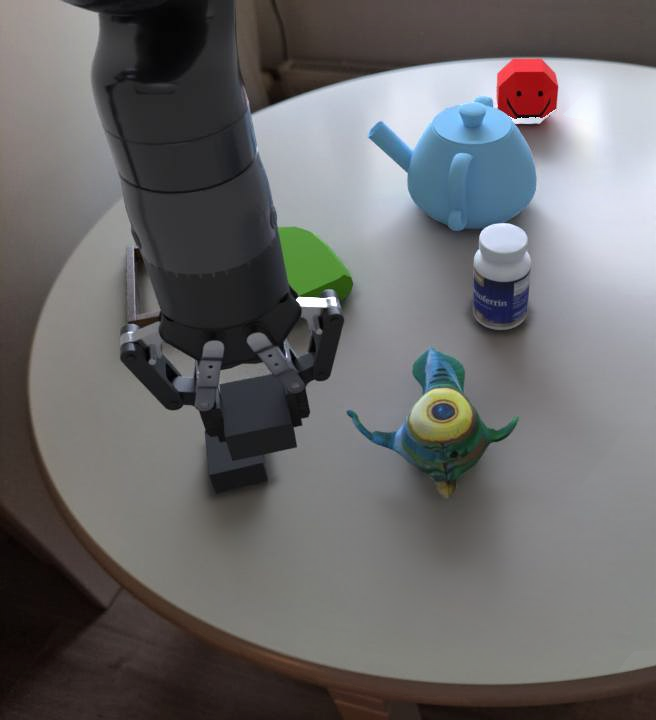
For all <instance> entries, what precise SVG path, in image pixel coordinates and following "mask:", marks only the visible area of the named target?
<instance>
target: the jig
mask: <svg viewBox="0 0 656 720" xmlns="http://www.w3.org/2000/svg"><path fill="white" fill-rule="evenodd" d="M139 262H144V261H143V258H142V255H141V252H140V250H139V247H137V245H136V243H135V244H129V245H126V246H125V267H126V268H125V269H126V271H125V272H126V277H125V279H126V323H127V324H134V325H137V326H139V327H140V328H143V327H146V326H148V325H151V324H153V323H155V322H158V316H159V313H160V310H156V311H152V312H151V311H150V312H146V313H141V307H140V282H139V281H140V276H139V274H140V273H139Z"/></svg>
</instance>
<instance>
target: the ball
mask: <svg viewBox="0 0 656 720" xmlns="http://www.w3.org/2000/svg"><path fill="white" fill-rule="evenodd" d="M558 93H559V82H558V79H557V74H556V72H555V71H554V70H553V68H551V66H549V65H548V64H547V63H546V62H545V61H544V60H543V58H512V59H511V60H510V61H509V62H508V63H507V64H506V65H504V67H503V68H501V70H499V71H498V72H497V74H496V105H498V107H497V109H498V110H501V111H502V112H504V113H505V114H507V115H508V116H510V117H512V118H514V119H517V118H521V117H522V118H529V117H535V118H536V117H540V118H543V117H545V116H546V115H548V114H549V113H550V112H552V111H553V110H555V109H556V110H557V108H558V98H559V97H558V95H559V94H558Z"/></svg>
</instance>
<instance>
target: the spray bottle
mask: <svg viewBox="0 0 656 720" xmlns="http://www.w3.org/2000/svg"><path fill="white" fill-rule="evenodd" d="M278 231H279V236H280V242H281V247H282V252H283V257H284V263H285V268H286V273H287V278H288V283H289V285H290V286H291V287H292V288H293V289H294V290H295V291H296V292H297V294H298V296H299V297H306V298H319V296H320V294H321V293H322V292H323V291H325V290H334V291H336V292H337V294H338V298H339V302H341V301H343V300H344V299H345V298H347V296H348V295H349V294H350V293H352V291H353V286H354V281H353V278H352V275H351V272H350V271H351V270H349V268H348V267H347V266H346V265H345V264H344V263H343V261H342V260H341V258H340V257H339V256H338V255H337V254H336V253H335V251H334V250H333V249H332V248H331V247H330V246H329V245H328V244H327V243H326V242H325V241H324V240H323V239H322V238H321V237H319V236H318V234H316V233H314V232H312V231H310V230H307V229H304V228H301V227H297V226H278ZM300 319H302V318H301V317H300ZM300 319H299V320H300Z"/></svg>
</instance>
